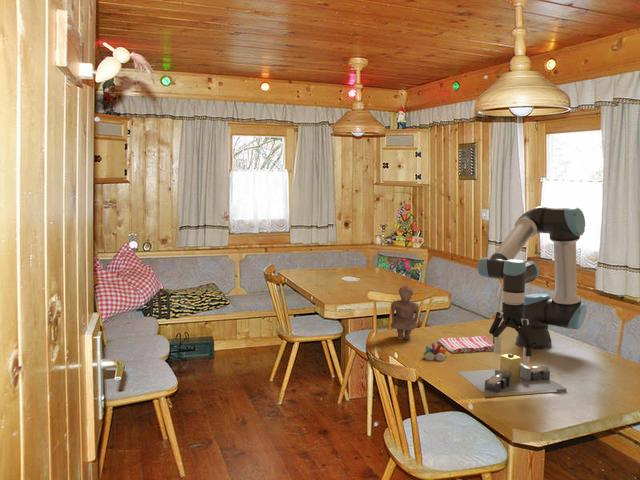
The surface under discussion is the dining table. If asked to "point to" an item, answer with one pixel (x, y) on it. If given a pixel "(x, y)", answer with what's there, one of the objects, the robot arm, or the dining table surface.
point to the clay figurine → (404, 313)
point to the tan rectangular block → (511, 365)
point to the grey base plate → (516, 387)
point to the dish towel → (467, 344)
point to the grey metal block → (534, 373)
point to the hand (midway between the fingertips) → (511, 358)
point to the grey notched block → (498, 381)
